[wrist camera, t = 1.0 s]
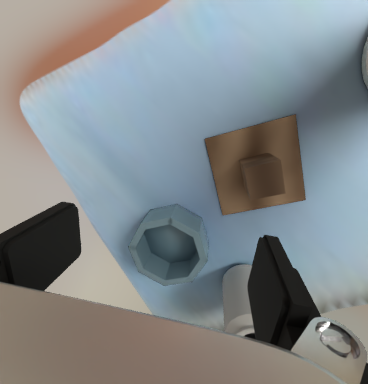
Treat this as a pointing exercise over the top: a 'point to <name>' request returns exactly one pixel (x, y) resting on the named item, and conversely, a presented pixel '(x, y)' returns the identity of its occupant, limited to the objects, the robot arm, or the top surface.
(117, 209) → the top surface
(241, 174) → the lid
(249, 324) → the can
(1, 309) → the robot arm
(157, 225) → the bowl
